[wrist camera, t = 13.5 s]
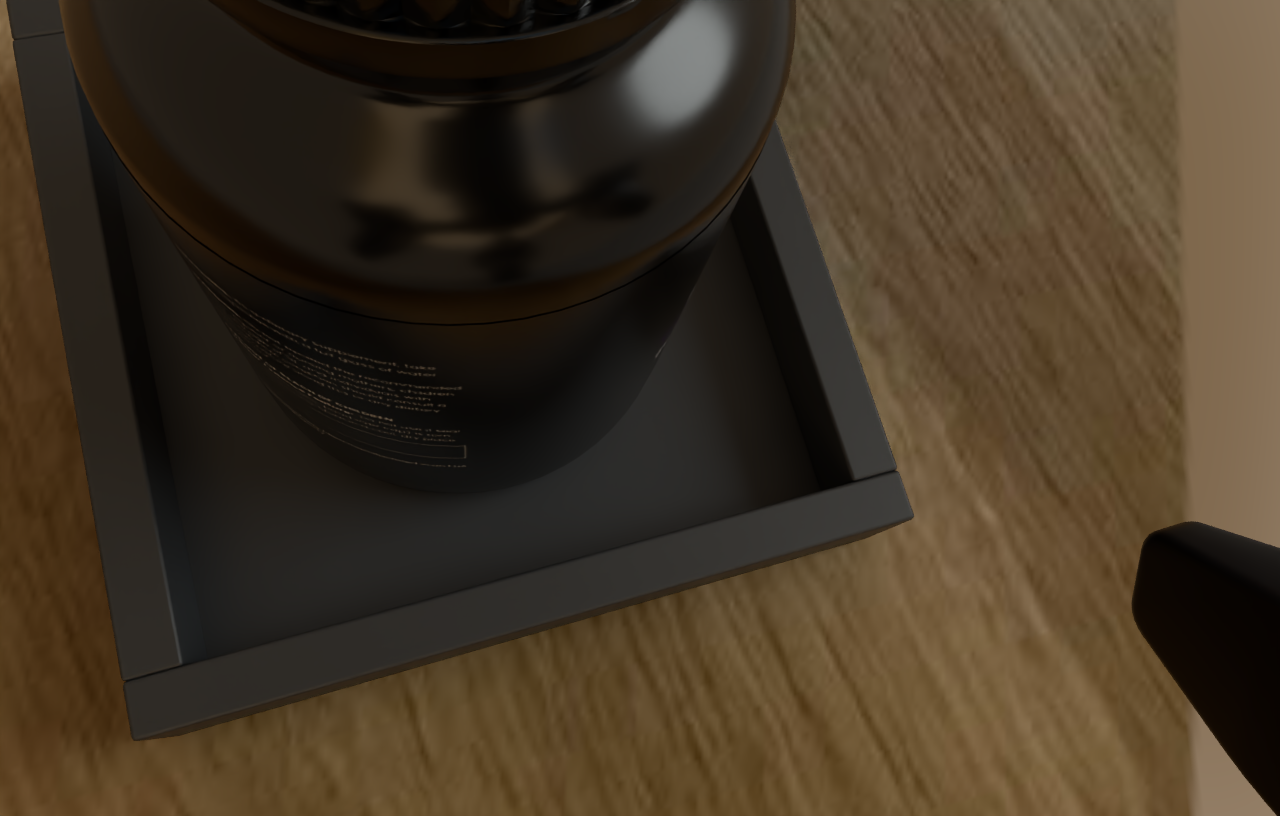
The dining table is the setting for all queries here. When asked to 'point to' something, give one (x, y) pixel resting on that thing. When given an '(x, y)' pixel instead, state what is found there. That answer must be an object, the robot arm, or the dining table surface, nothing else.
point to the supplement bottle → (441, 201)
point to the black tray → (405, 518)
